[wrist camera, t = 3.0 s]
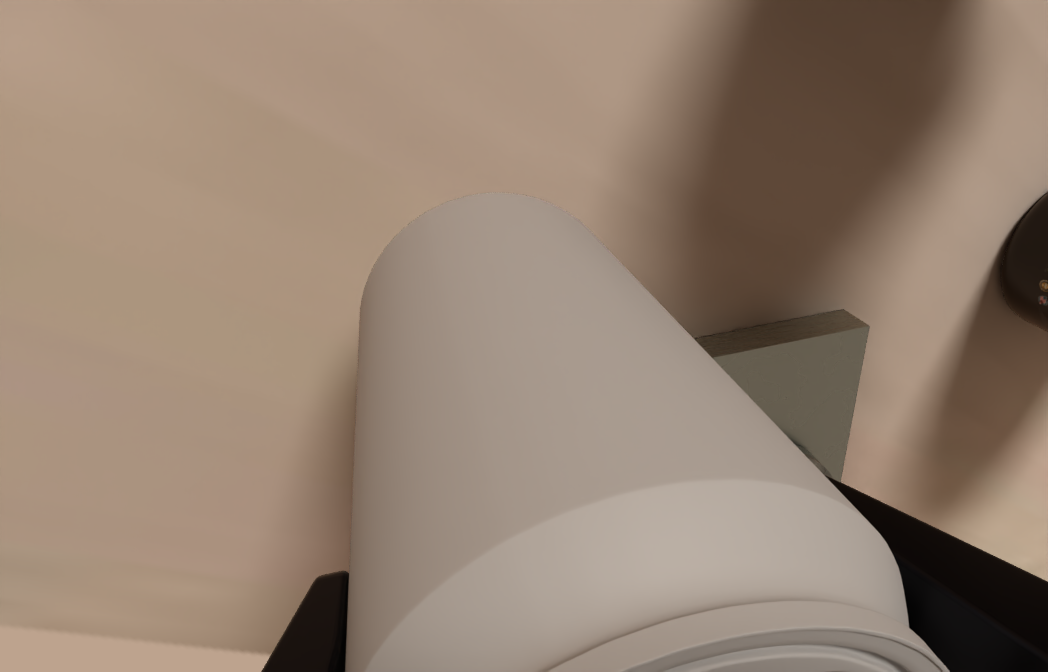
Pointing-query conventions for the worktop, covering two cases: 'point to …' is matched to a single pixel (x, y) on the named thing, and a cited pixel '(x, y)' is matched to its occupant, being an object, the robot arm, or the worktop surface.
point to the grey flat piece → (800, 378)
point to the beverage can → (583, 478)
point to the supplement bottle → (1028, 267)
